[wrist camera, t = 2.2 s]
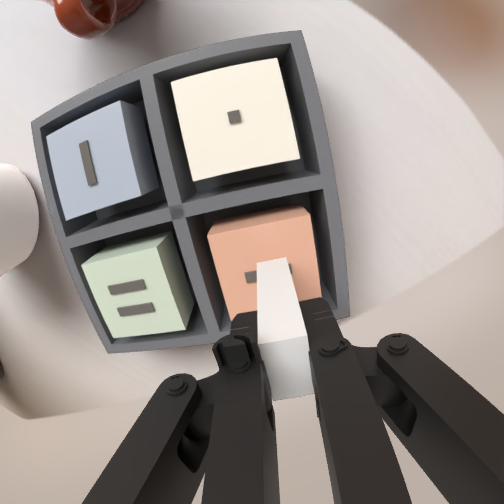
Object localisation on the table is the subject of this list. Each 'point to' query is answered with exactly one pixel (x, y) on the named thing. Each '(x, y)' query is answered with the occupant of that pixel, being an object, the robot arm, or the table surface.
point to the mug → (91, 15)
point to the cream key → (235, 118)
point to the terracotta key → (263, 253)
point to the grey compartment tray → (201, 185)
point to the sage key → (140, 286)
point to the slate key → (102, 159)
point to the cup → (16, 218)
